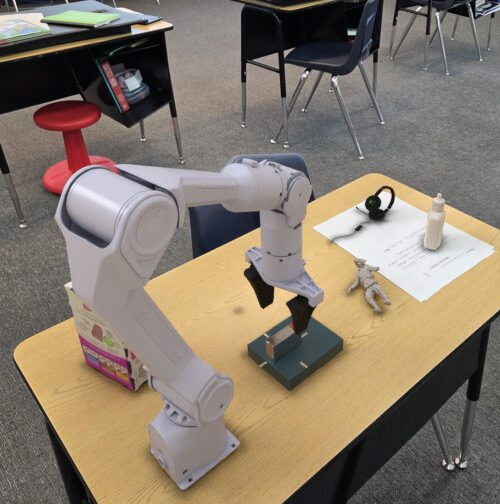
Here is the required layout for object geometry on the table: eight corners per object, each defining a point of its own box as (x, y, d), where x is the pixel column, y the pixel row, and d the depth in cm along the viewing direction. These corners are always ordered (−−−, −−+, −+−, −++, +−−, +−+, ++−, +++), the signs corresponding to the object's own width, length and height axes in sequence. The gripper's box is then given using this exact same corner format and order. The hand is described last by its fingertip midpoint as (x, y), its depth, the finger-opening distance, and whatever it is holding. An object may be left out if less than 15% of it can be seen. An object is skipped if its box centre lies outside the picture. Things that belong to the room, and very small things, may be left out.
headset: (321, 249, 123) (379, 193, 129) (343, 263, 118) (402, 204, 124) (312, 229, 118) (372, 173, 125) (334, 243, 113) (396, 183, 120)
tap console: (282, 398, 81) (282, 386, 80) (239, 360, 87) (238, 348, 86) (343, 350, 89) (344, 338, 88) (300, 319, 95) (300, 307, 94)
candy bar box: (158, 371, 85) (143, 291, 77) (135, 393, 82) (116, 312, 73) (109, 344, 90) (89, 266, 82) (84, 364, 87) (61, 284, 78)
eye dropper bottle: (415, 243, 115) (422, 194, 108) (432, 233, 118) (440, 185, 111) (431, 252, 112) (439, 203, 106) (448, 242, 115) (457, 194, 109)
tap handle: (273, 363, 83) (273, 345, 82) (266, 356, 85) (265, 339, 83) (301, 342, 87) (301, 325, 85) (294, 337, 88) (293, 320, 86)
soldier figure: (360, 321, 96) (332, 268, 103) (373, 325, 100) (345, 273, 107) (394, 296, 94) (363, 243, 101) (406, 301, 98) (375, 249, 104)
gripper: (340, 255, 73) (336, 328, 80) (268, 213, 82) (271, 283, 89) (302, 278, 69) (302, 353, 76) (231, 232, 78) (237, 303, 85)
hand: (283, 317), depth 82 cm, fingers open, 7 cm apart
